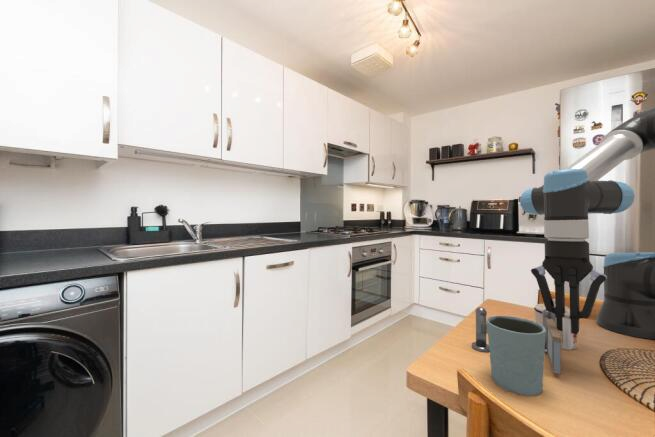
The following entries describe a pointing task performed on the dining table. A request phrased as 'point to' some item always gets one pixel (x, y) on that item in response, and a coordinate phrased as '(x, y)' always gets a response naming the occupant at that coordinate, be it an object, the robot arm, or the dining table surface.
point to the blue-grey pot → (517, 354)
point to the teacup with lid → (539, 320)
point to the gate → (554, 345)
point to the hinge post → (546, 316)
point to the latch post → (481, 331)
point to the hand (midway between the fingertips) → (568, 346)
